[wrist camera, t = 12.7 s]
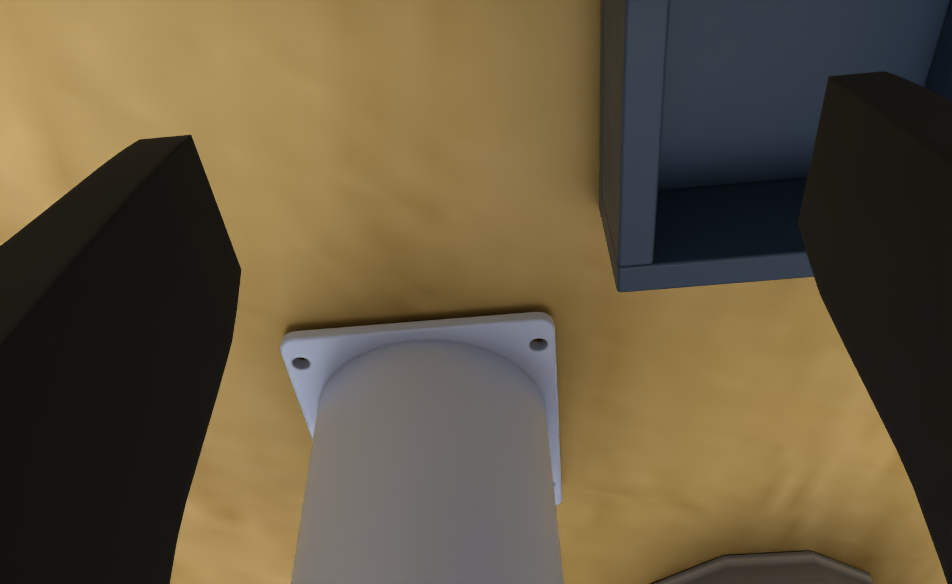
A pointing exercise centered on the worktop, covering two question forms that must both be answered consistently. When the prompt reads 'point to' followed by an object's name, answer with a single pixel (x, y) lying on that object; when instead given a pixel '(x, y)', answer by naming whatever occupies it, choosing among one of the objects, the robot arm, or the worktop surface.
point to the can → (772, 570)
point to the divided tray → (734, 124)
